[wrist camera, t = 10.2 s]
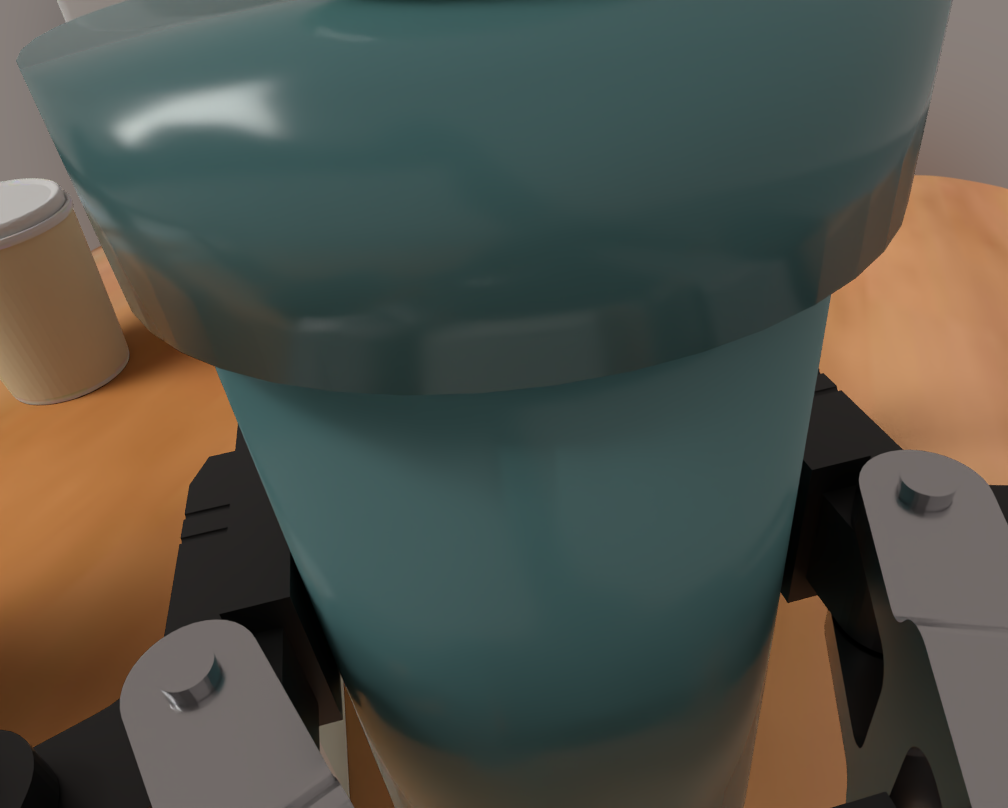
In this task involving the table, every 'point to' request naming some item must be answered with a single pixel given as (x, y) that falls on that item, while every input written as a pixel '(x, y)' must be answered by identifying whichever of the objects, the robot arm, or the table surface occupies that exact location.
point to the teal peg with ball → (511, 336)
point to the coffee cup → (52, 300)
